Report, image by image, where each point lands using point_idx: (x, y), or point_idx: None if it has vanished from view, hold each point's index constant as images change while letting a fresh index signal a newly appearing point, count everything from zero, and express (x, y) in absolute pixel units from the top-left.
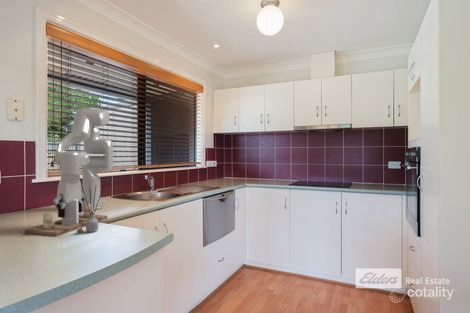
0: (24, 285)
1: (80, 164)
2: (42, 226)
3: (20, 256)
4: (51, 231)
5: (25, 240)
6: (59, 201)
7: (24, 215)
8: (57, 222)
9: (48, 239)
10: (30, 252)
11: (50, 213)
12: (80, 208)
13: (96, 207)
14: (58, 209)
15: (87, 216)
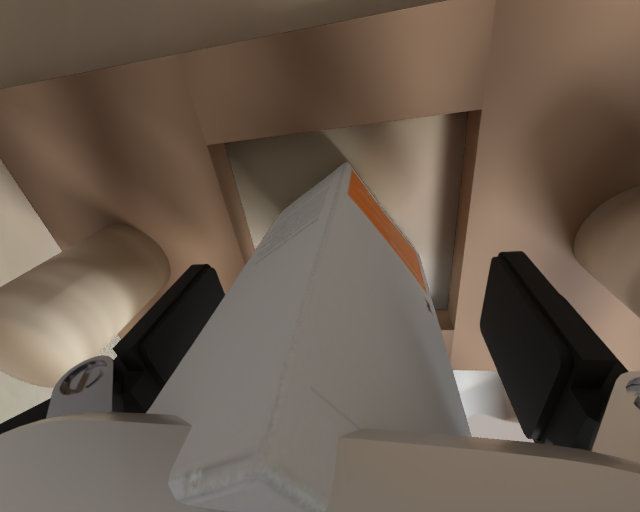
0: None
1: None
2: (111, 147)
3: (2, 391)
4: (124, 327)
5: (12, 267)
6: (40, 451)
7: None
8: (278, 135)
9: (108, 347)
10: (30, 391)
11: (36, 331)
12: (500, 376)
13: None
14: (118, 364)
15: (585, 266)
